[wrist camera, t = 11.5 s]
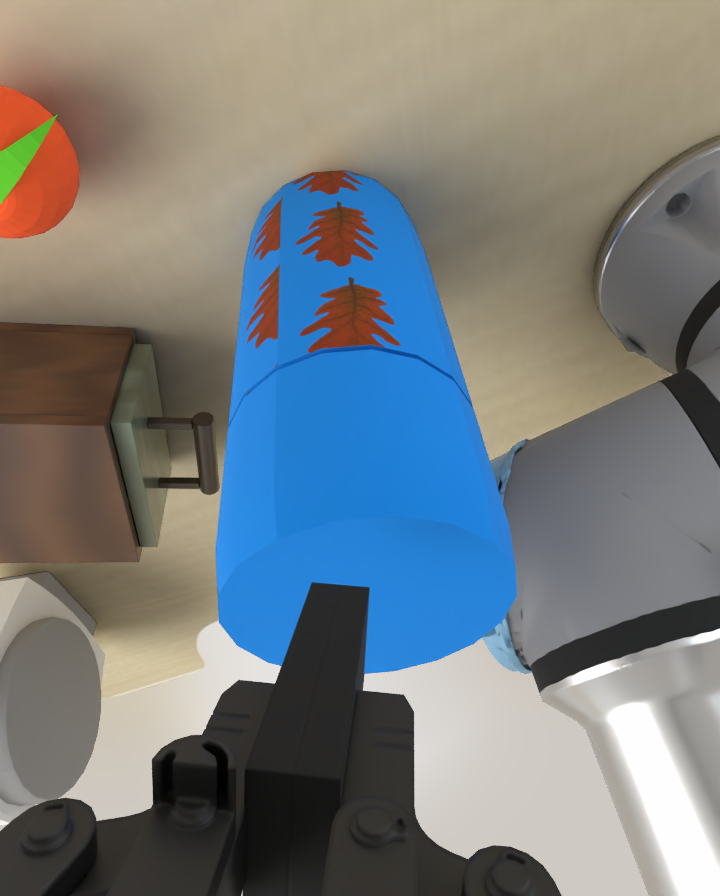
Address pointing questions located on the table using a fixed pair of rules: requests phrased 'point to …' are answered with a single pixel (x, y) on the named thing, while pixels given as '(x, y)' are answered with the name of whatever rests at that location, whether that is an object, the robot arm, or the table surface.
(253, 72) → the table surface
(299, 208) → the thermos
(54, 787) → the alarm clock
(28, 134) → the clementine
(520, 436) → the table surface
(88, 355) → the cabinet
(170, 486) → the drawer
